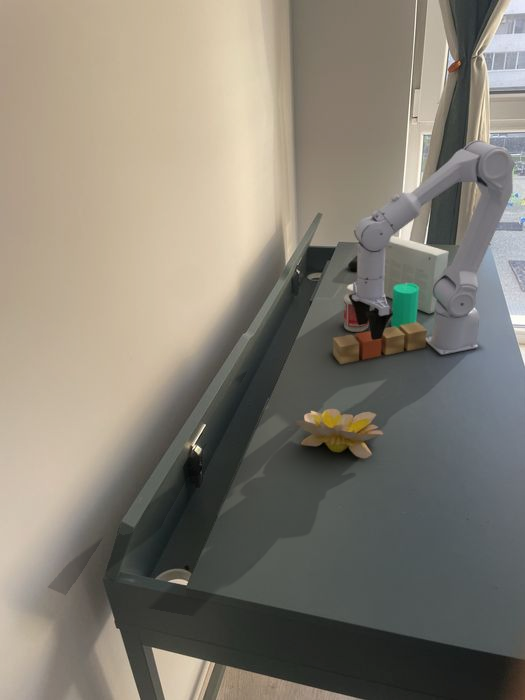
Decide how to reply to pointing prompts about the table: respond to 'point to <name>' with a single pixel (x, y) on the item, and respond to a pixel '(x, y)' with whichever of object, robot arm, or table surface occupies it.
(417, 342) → the block
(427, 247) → the skincare box
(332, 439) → the decorative flower
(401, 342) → the block
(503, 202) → the robot arm
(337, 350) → the block
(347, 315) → the pill bottle
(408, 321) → the candle
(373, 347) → the orange block
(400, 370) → the table surface
